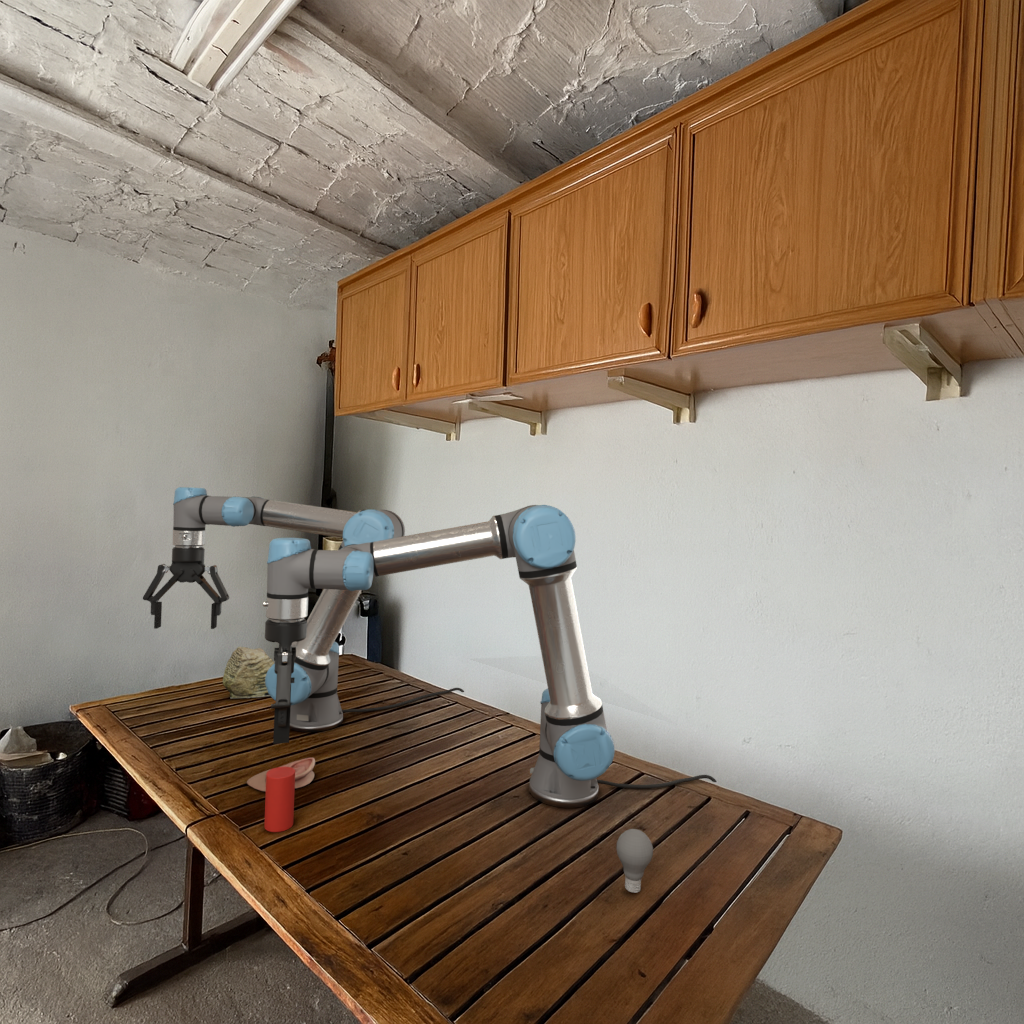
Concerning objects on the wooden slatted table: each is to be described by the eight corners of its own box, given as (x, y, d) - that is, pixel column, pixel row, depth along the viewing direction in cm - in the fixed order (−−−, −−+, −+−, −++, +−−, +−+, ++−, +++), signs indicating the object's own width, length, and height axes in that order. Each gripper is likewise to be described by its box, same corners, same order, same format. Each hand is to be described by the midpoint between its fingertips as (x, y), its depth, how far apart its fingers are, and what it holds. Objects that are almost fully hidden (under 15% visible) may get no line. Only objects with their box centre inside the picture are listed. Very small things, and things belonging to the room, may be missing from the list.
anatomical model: (238, 769, 136) (269, 749, 147) (238, 787, 136) (269, 766, 147) (295, 777, 133) (322, 756, 144) (294, 796, 133) (321, 773, 144)
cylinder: (283, 834, 119) (285, 779, 118) (258, 829, 120) (260, 775, 120) (298, 820, 124) (300, 768, 123) (274, 816, 125) (276, 764, 125)
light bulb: (610, 879, 108) (613, 822, 108) (644, 879, 109) (647, 822, 109) (619, 902, 102) (622, 840, 102) (655, 901, 103) (658, 840, 103)
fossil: (218, 695, 195) (220, 647, 195) (278, 685, 208) (279, 640, 207) (228, 703, 189) (230, 653, 188) (289, 692, 201) (290, 645, 201)
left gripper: (130, 546, 159) (127, 630, 159) (236, 549, 163) (233, 630, 164) (142, 543, 166) (139, 624, 166) (242, 546, 171) (240, 625, 171)
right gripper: (268, 607, 132) (264, 709, 132) (262, 633, 108) (257, 756, 108) (306, 607, 134) (302, 706, 134) (308, 632, 110) (303, 752, 111)
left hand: (185, 627), depth 165 cm, fingers open, 13 cm apart
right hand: (282, 729), depth 121 cm, fingers open, 13 cm apart
